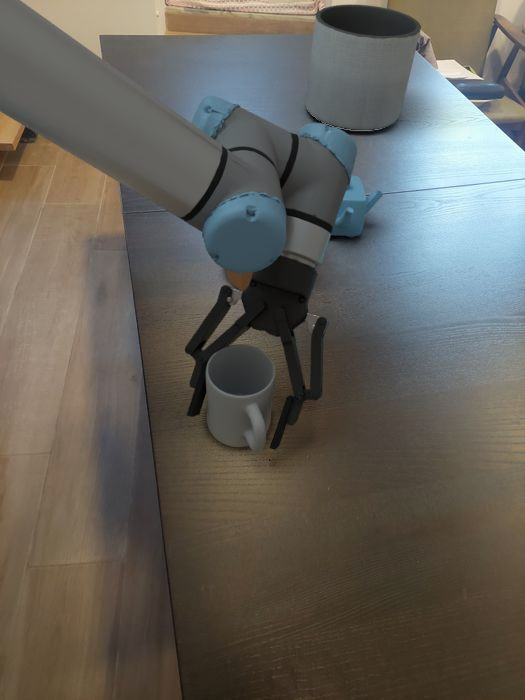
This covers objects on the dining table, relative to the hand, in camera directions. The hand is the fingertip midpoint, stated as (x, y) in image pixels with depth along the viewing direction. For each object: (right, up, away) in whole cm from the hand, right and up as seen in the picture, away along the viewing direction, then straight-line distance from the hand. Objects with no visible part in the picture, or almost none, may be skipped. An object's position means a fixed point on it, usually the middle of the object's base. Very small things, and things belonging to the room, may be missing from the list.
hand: (232, 430), depth 63 cm
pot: (+3, +24, +27) cm, 36 cm away
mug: (+1, -1, +5) cm, 5 cm away
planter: (+27, +73, +73) cm, 107 cm away
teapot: (+19, +34, +38) cm, 55 cm away
